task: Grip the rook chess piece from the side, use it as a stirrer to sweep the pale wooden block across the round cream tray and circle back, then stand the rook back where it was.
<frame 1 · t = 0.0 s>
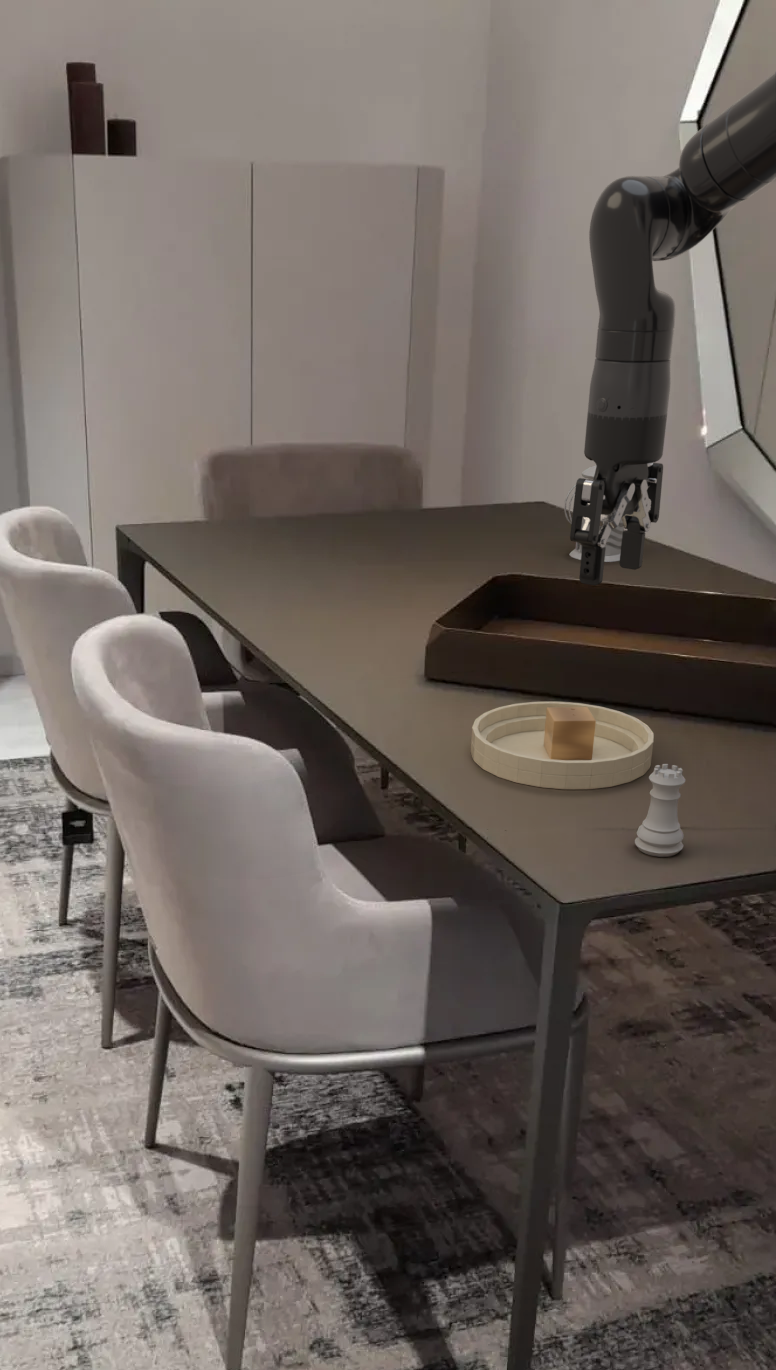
hand: (610, 575, 140), 20 cm above the table, tool pointing down, fingers open, 8 cm apart
block: (567, 752, 150), resting on round cream tray
rook chess piece: (658, 850, 129), on the table
french press: (593, 556, 236), on the table
round cream tray: (559, 760, 150), on the table
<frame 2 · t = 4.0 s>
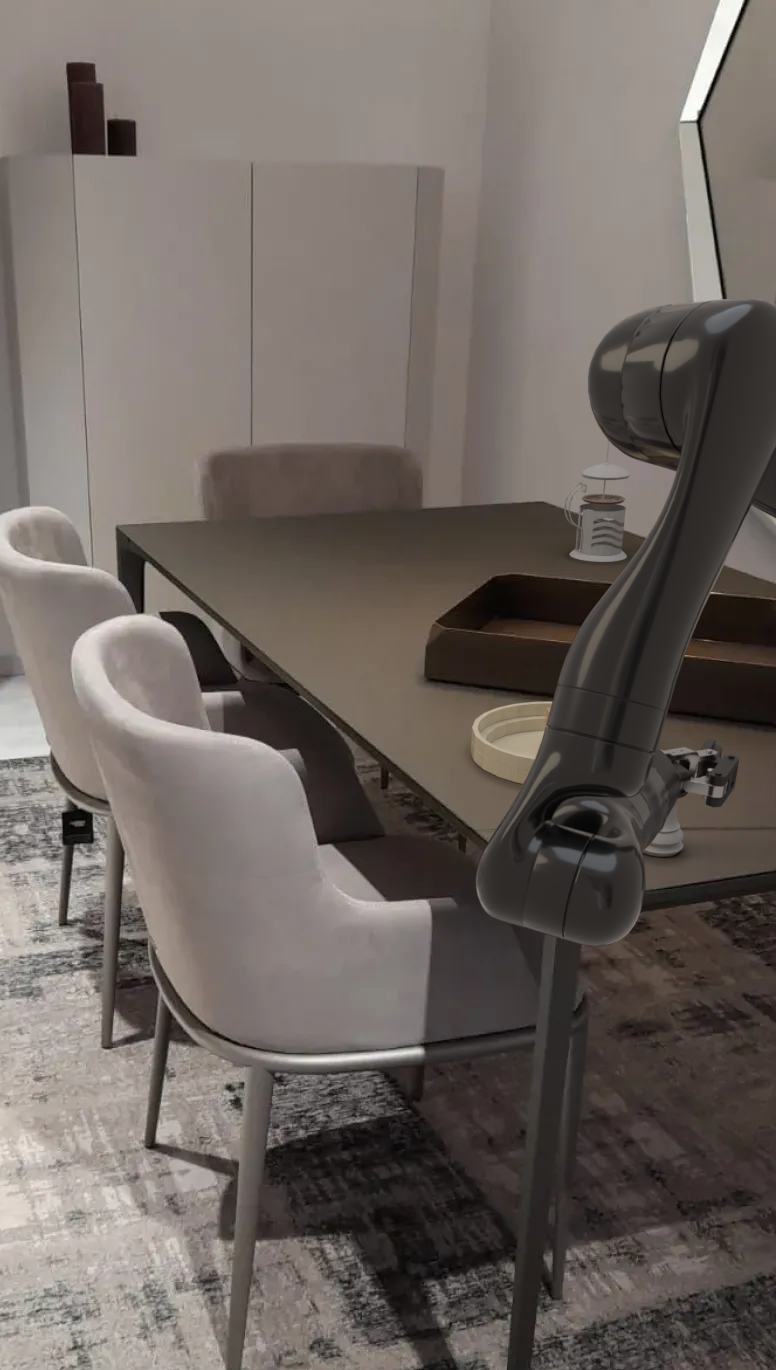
hand: (657, 741, 115), 14 cm above the table, tool horizontal, fingers open, 8 cm apart
nothing on the table moved.
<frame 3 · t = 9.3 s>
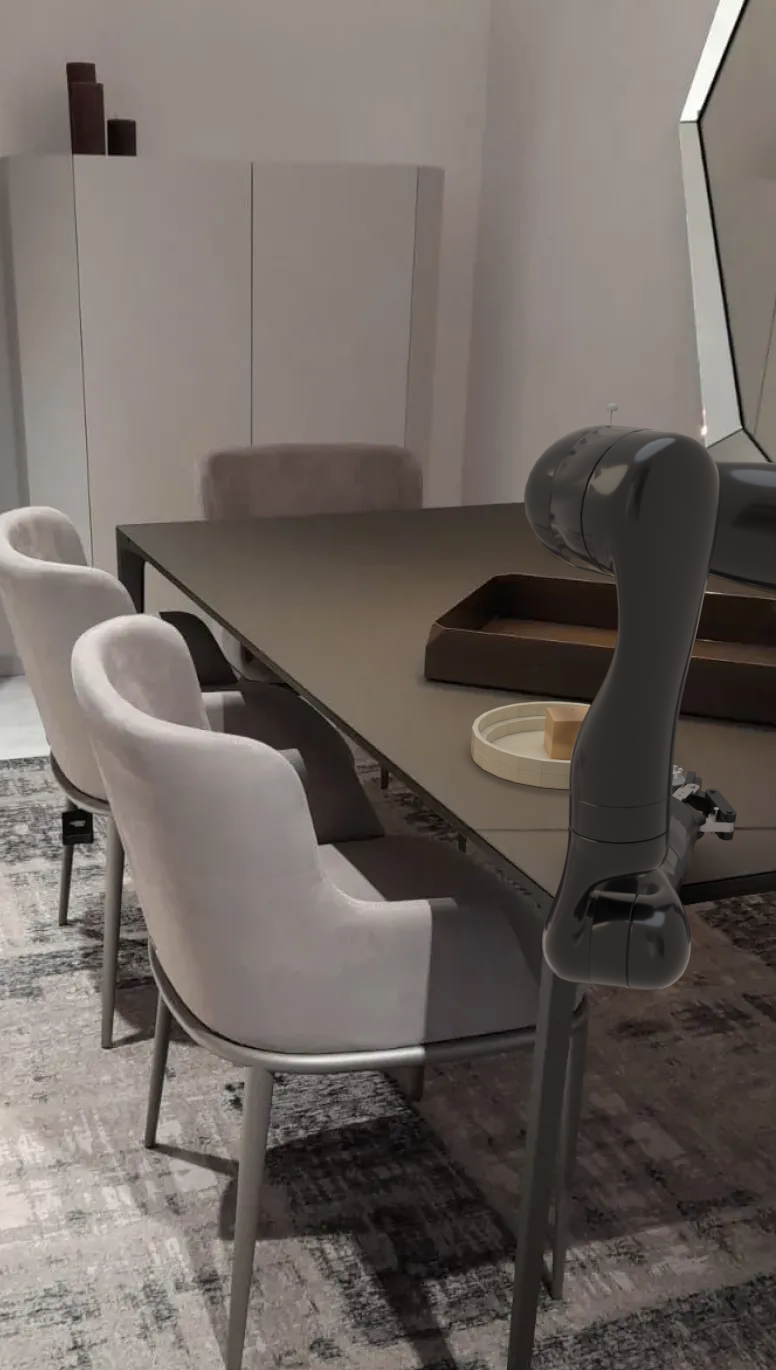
hand: (669, 778, 129), 6 cm above the table, tool horizontal, fingers closed on rook chess piece, 3 cm apart
rook chess piece: (658, 850, 129), on the table, touching gripper
everything else where it was.
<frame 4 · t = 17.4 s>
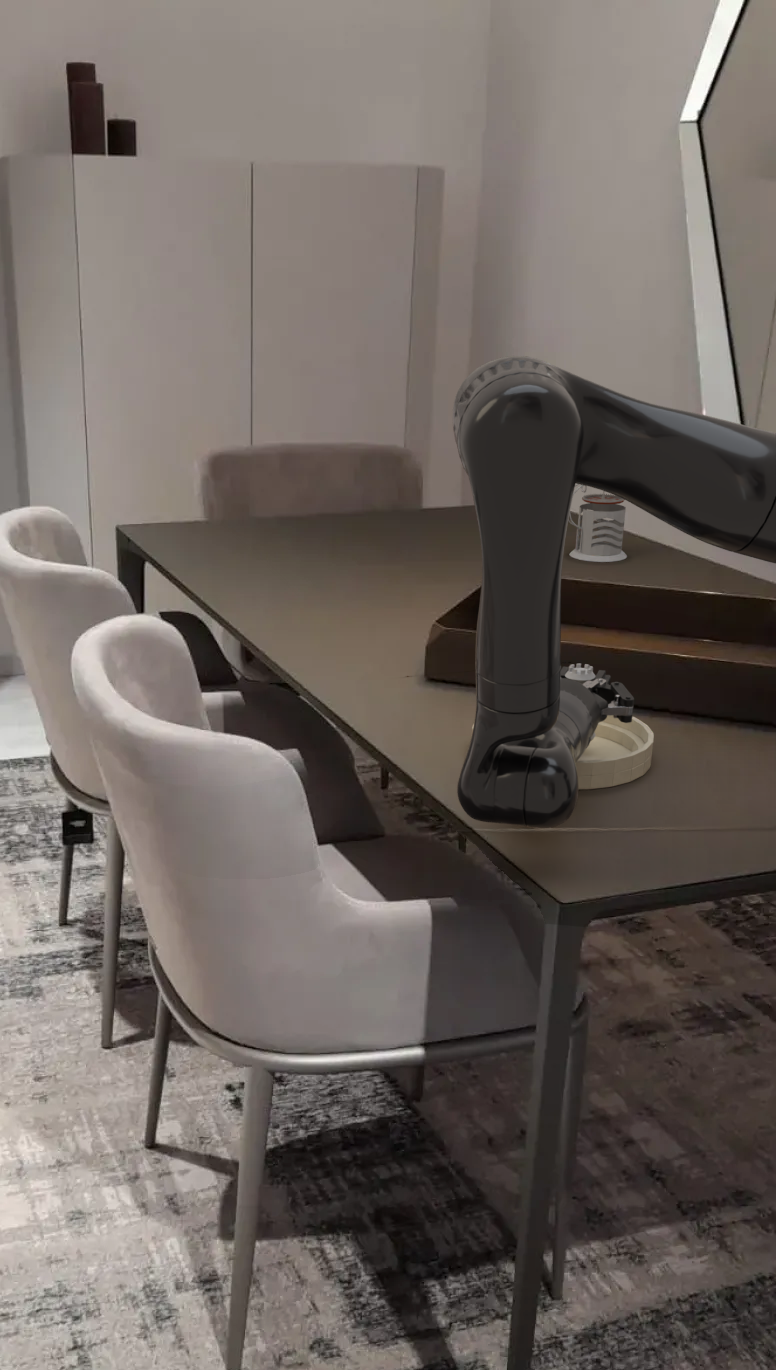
hand: (583, 677, 149), 8 cm above the table, tool horizontal, fingers closed on rook chess piece, 3 cm apart
block: (532, 752, 150), point 1 cm above the table, touching rook chess piece
rook chess piece: (574, 739, 150), point 2 cm above the table, touching block, gripper
everything else where it was.
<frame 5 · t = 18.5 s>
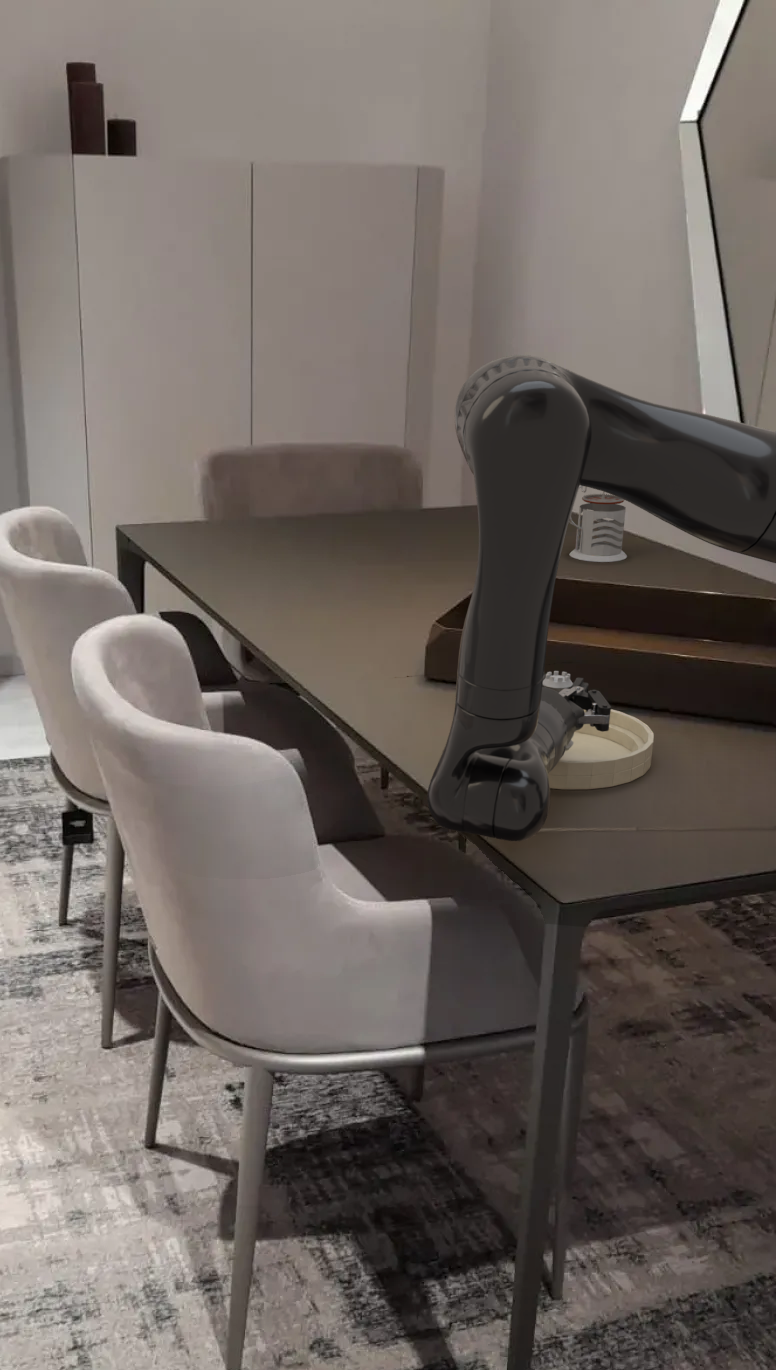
hand: (561, 685, 147), 8 cm above the table, tool horizontal, fingers closed on rook chess piece, 3 cm apart
block: (508, 754, 150), point 1 cm above the table, touching round cream tray
rook chess piece: (552, 748, 148), point 2 cm above the table, touching gripper
everything else where it was.
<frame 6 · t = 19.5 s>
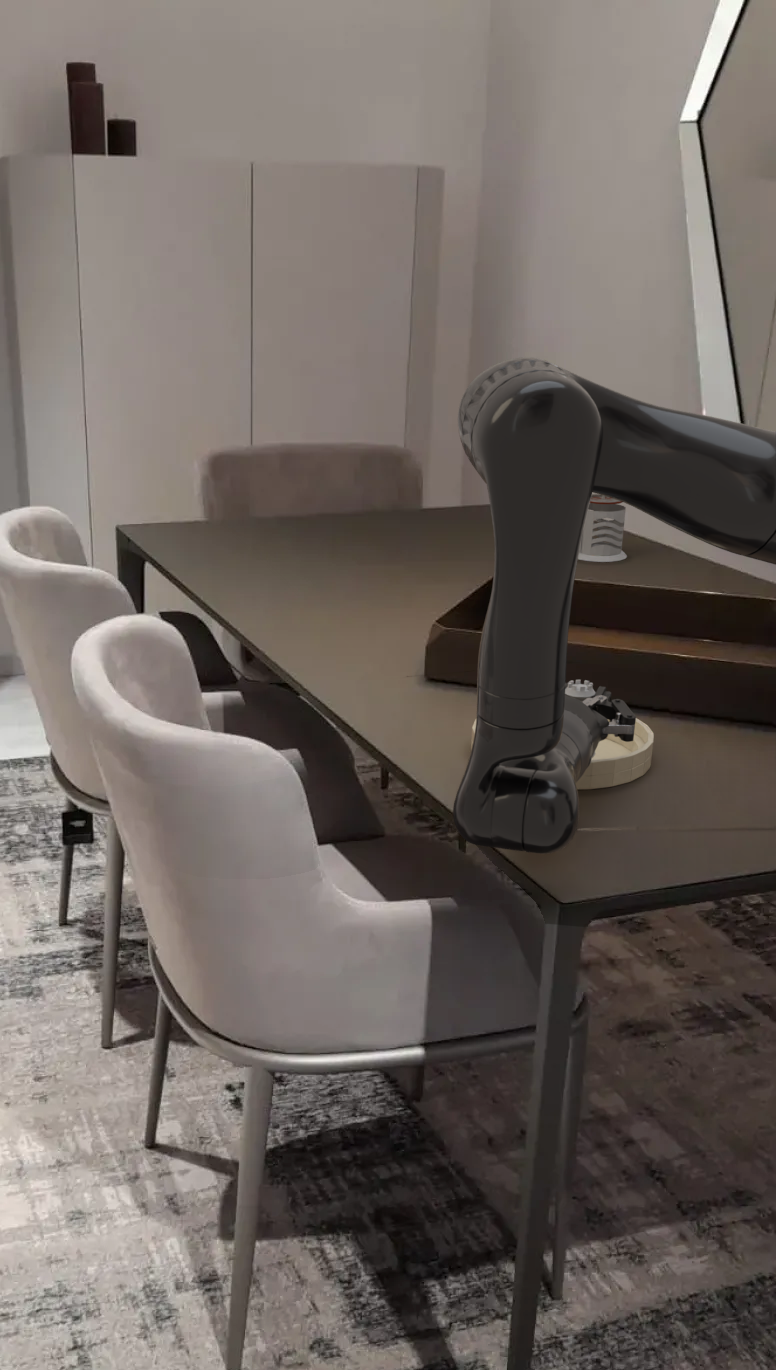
hand: (583, 693, 145), 8 cm above the table, tool horizontal, fingers closed on rook chess piece, 3 cm apart
rook chess piece: (573, 758, 145), point 2 cm above the table, touching gripper
everything else where it was.
when the fingers open (6 cm above the table, at t = 29.9 s): rook chess piece stays where it is, on the table.
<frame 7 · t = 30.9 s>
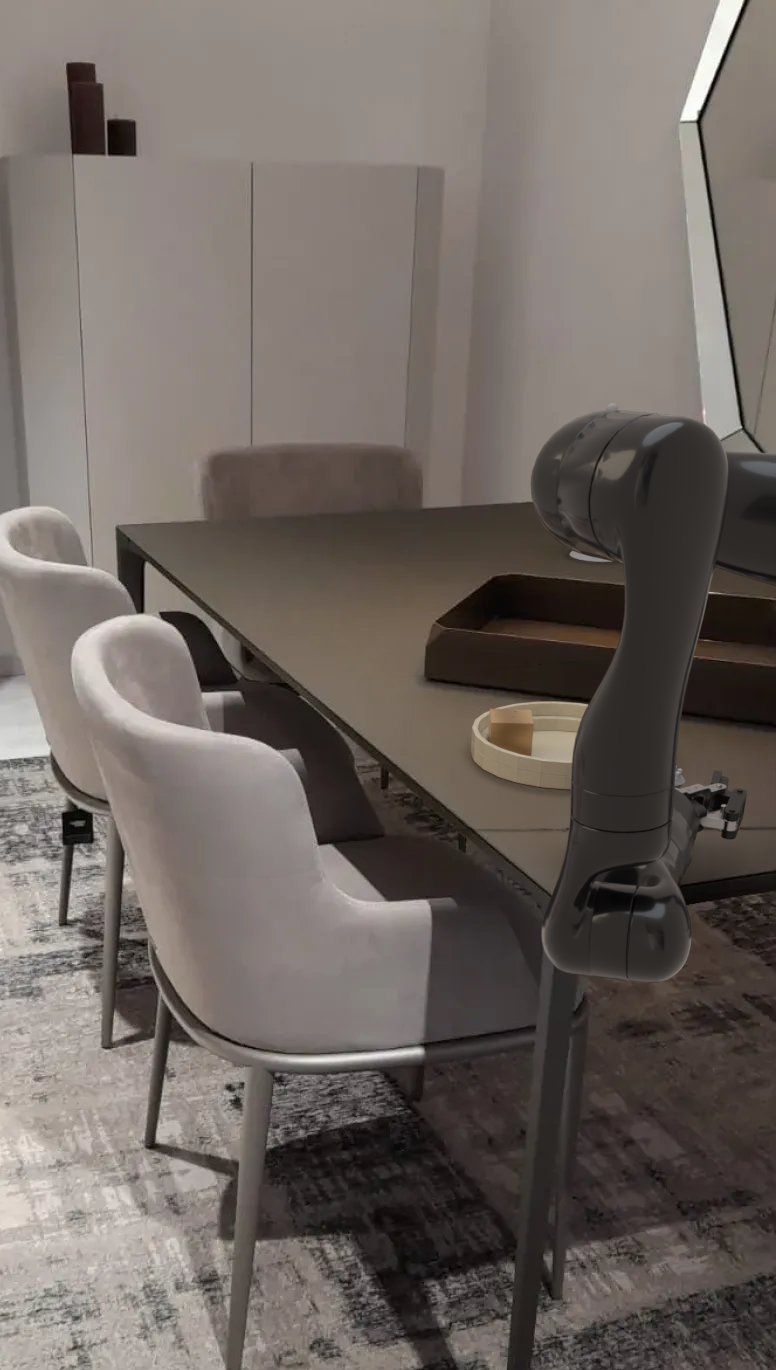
hand: (669, 774, 127), 7 cm above the table, tool horizontal, fingers open, 8 cm apart
rook chess piece: (657, 850, 129), on the table
everything else where it was.
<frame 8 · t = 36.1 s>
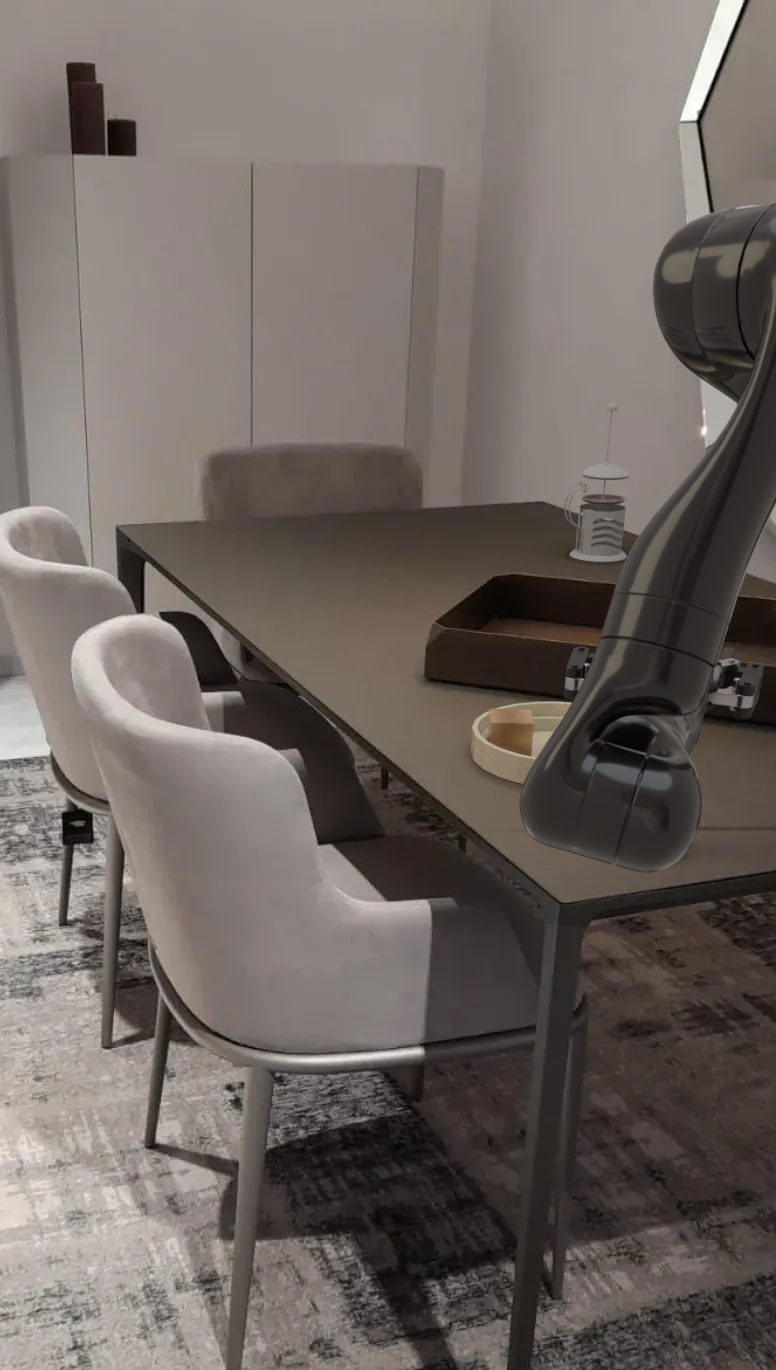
hand: (672, 654, 110), 22 cm above the table, tool horizontal, fingers open, 8 cm apart
nothing on the table moved.
at the end: block moved 6.5 cm from its start; block inside the target area in the round cream tray (5.5 cm from its centre), point 0.5 cm above the round cream tray's base; rook chess piece tilted 0° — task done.
